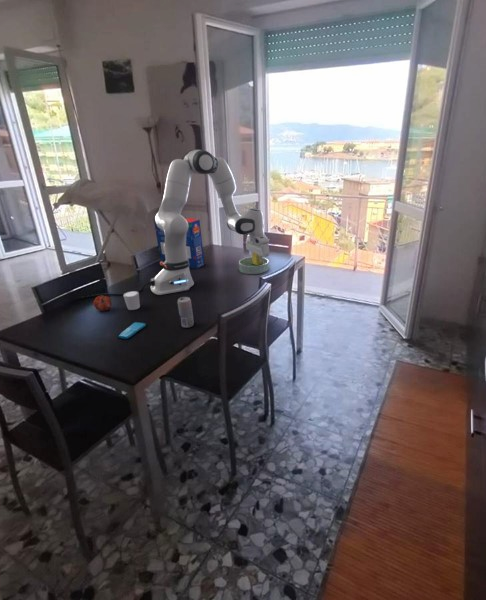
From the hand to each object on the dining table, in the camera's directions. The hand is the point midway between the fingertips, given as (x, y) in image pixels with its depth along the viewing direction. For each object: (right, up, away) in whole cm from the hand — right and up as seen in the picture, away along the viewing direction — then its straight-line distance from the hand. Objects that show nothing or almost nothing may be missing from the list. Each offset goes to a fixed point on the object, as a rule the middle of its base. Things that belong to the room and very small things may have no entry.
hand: (257, 260), depth 209 cm
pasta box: (-48, -1, +14) cm, 50 cm away
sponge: (-50, -36, -62) cm, 88 cm away
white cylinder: (-57, -27, -42) cm, 75 cm away
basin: (-2, -5, +1) cm, 6 cm away
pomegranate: (-70, -28, -43) cm, 87 cm away
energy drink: (-27, -34, -59) cm, 73 cm away
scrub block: (0, -3, +1) cm, 3 cm away
